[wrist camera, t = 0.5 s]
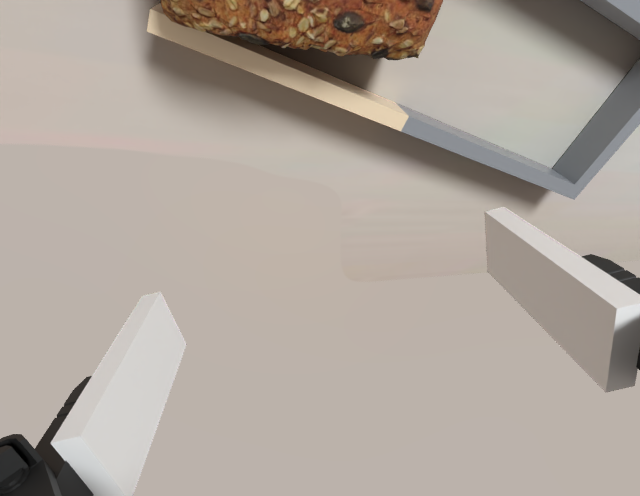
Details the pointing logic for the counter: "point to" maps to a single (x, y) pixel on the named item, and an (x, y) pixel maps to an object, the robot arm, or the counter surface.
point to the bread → (316, 23)
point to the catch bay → (564, 178)
